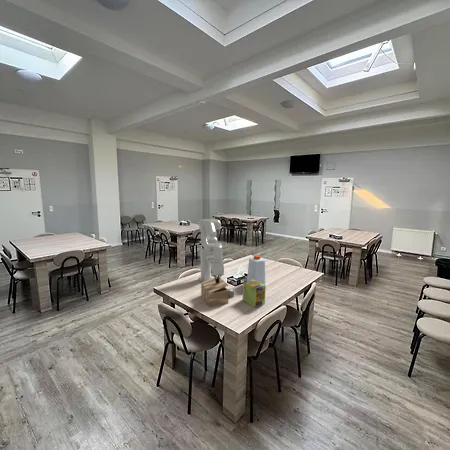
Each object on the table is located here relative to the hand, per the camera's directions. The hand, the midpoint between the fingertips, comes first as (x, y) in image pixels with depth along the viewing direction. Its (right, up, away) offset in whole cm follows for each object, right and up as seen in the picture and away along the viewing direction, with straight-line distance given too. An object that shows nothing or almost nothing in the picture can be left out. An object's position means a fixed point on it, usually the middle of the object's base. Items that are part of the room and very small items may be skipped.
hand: (217, 282), depth 192 cm
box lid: (-2, -1, 0) cm, 3 cm away
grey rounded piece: (+11, -13, +9) cm, 19 cm away
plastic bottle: (+35, -10, +33) cm, 49 cm away
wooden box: (-3, -14, +2) cm, 14 cm away
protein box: (+29, -15, 0) cm, 33 cm away
